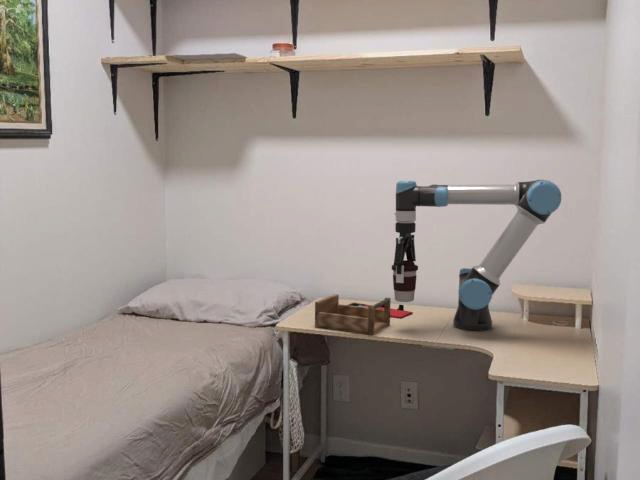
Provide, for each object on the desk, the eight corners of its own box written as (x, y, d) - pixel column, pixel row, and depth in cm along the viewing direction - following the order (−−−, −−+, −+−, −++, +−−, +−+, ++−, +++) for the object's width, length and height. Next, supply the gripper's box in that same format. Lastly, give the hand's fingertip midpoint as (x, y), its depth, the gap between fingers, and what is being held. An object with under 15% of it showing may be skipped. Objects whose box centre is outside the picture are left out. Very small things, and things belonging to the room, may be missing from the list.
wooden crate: (389, 325, 274) (390, 297, 273) (372, 335, 258) (372, 306, 257) (334, 318, 285) (335, 291, 284) (314, 327, 269) (315, 299, 268)
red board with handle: (355, 303, 314) (338, 310, 302) (355, 297, 314) (338, 303, 301) (416, 313, 298) (400, 320, 286) (416, 307, 298) (401, 314, 285)
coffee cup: (416, 298, 270) (417, 259, 268) (418, 303, 260) (418, 263, 258) (391, 297, 271) (391, 259, 269) (391, 302, 261) (391, 263, 259)
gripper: (406, 219, 273) (405, 275, 276) (385, 224, 253) (384, 284, 256) (424, 219, 270) (423, 276, 273) (404, 224, 250) (403, 286, 253)
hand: (404, 280), depth 264 cm, fingers closed on coffee cup, 10 cm apart
